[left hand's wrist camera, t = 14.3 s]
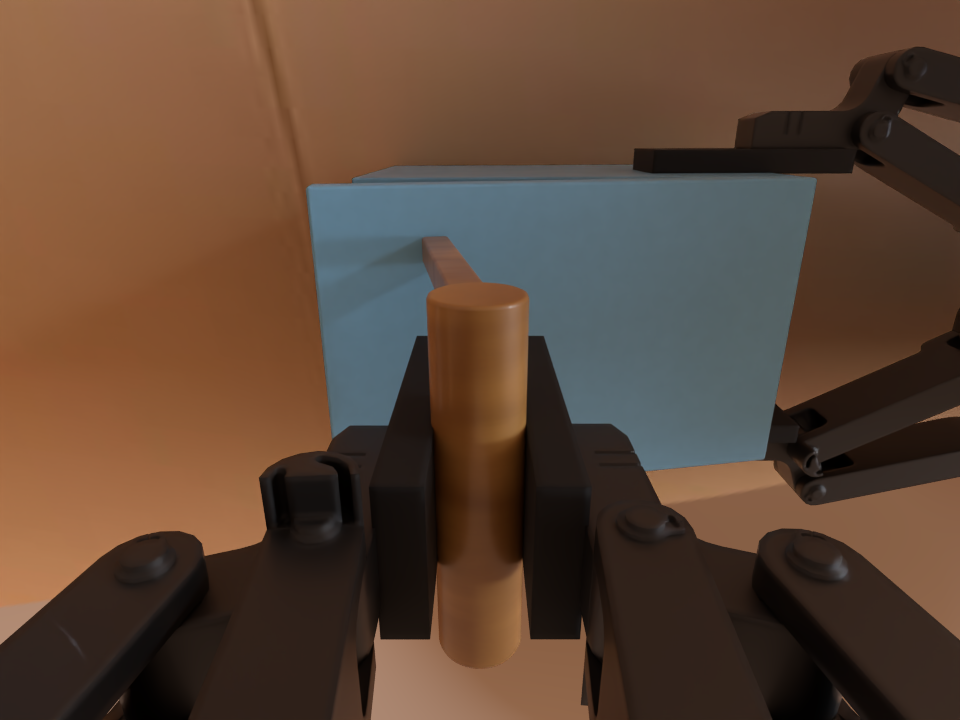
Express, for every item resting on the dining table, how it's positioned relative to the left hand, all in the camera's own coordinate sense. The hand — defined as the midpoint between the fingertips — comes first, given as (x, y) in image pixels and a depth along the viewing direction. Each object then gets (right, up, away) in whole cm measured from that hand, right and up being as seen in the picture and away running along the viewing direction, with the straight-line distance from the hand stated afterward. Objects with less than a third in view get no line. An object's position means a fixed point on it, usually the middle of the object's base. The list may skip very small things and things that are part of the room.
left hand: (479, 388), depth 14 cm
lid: (+3, +1, +4) cm, 5 cm away
